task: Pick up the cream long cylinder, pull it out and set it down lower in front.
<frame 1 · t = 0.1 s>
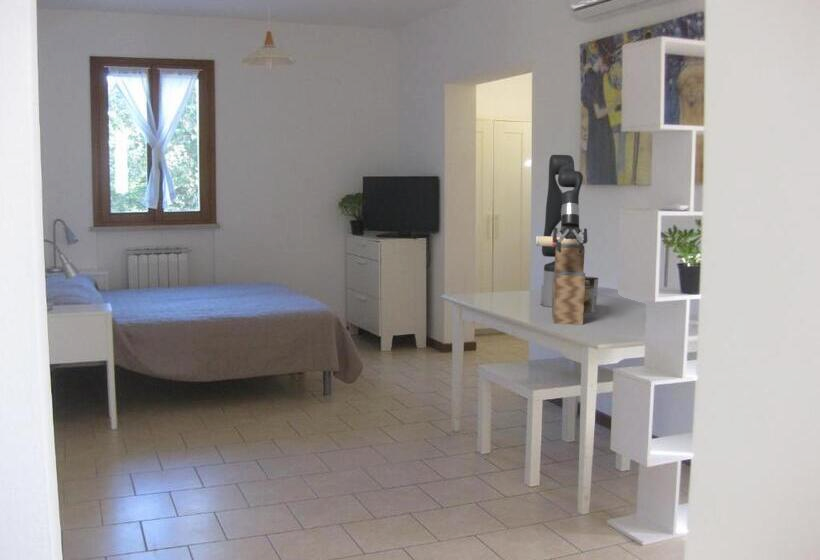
hand: (570, 252, 372), 32 cm above the table, tool tilted 20°, fingers open, 8 cm apart
coffee box: (585, 311, 420), on the table
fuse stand: (566, 318, 396), on the table
cream long cylinder: (558, 246, 393), point 32 cm above the table, touching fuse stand
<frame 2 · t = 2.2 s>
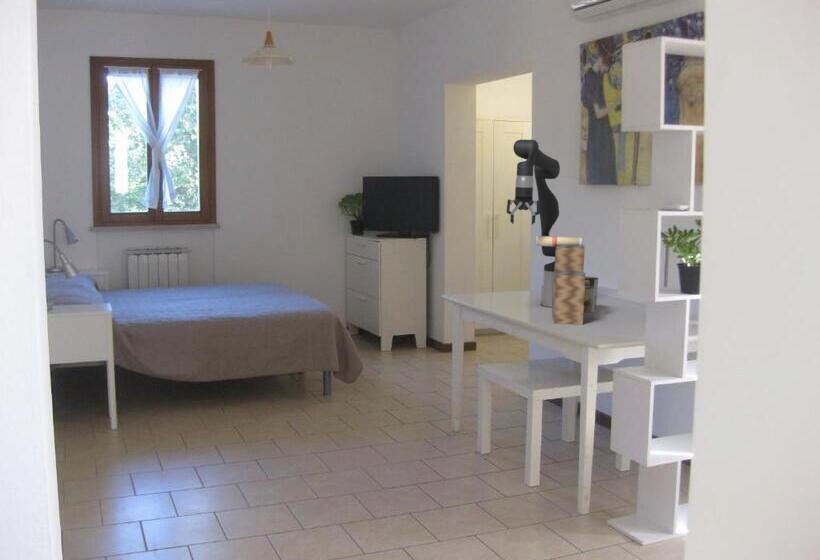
hand: (522, 224, 383), 42 cm above the table, tool pointing down, fingers open, 8 cm apart
nothing on the table moved.
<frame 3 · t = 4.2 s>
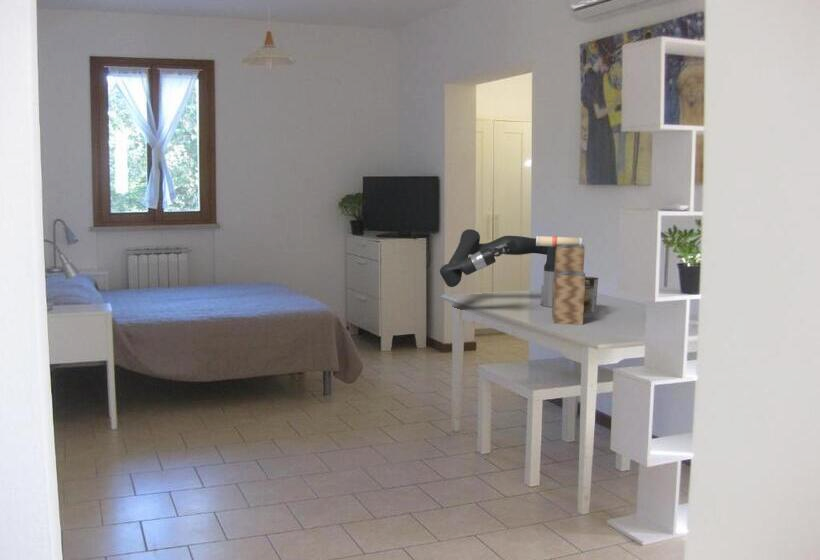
hand: (515, 242, 393), 33 cm above the table, tool pointing upward, fingers open, 8 cm apart
nothing on the table moved.
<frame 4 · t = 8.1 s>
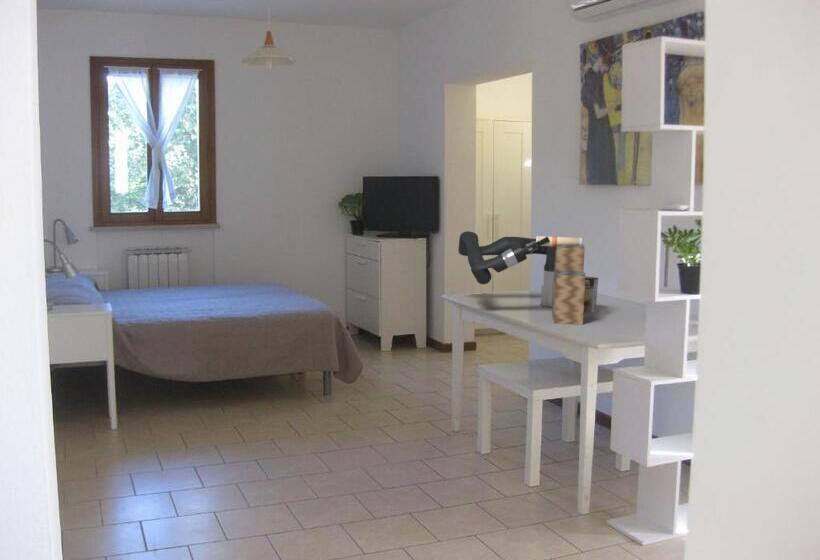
hand: (548, 238, 393), 36 cm above the table, tool pointing upward, fingers closed on cream long cylinder, 4 cm apart
cream long cylinder: (558, 246, 393), point 32 cm above the table, touching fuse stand, gripper
everything else where it was.
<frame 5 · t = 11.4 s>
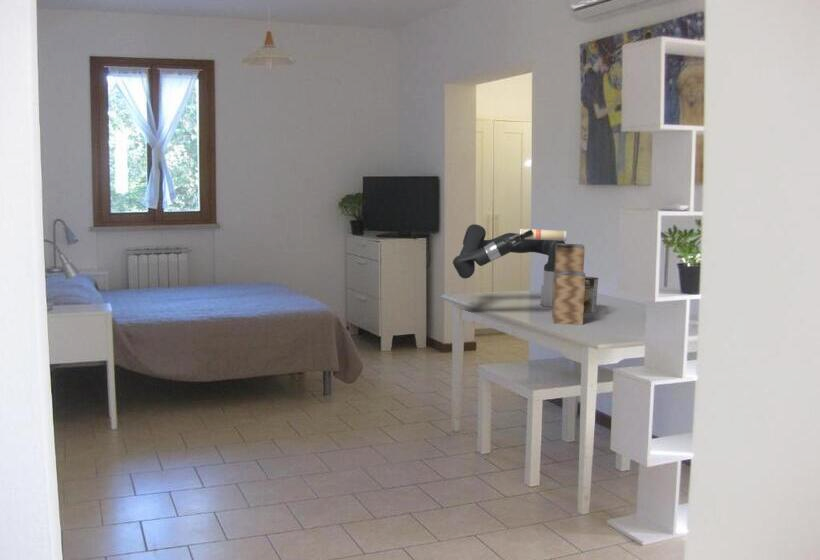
hand: (532, 231, 383), 39 cm above the table, tool pointing upward, fingers closed on cream long cylinder, 4 cm apart
cream long cylinder: (542, 239, 383), point 36 cm above the table, touching gripper
everything else where it was.
when the fingers open (26 cm above the table, at t = 14.7 s): cream long cylinder drops 1 cm, resting on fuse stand.
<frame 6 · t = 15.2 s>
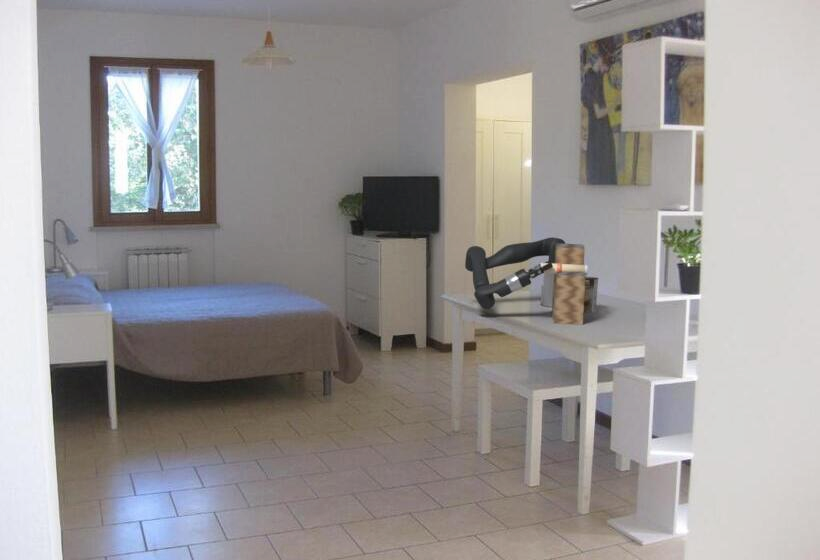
hand: (551, 263, 384), 25 cm above the table, tool pointing upward, fingers open, 8 cm apart
cream long cylinder: (563, 274, 384), point 21 cm above the table, touching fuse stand
everything else where it was.
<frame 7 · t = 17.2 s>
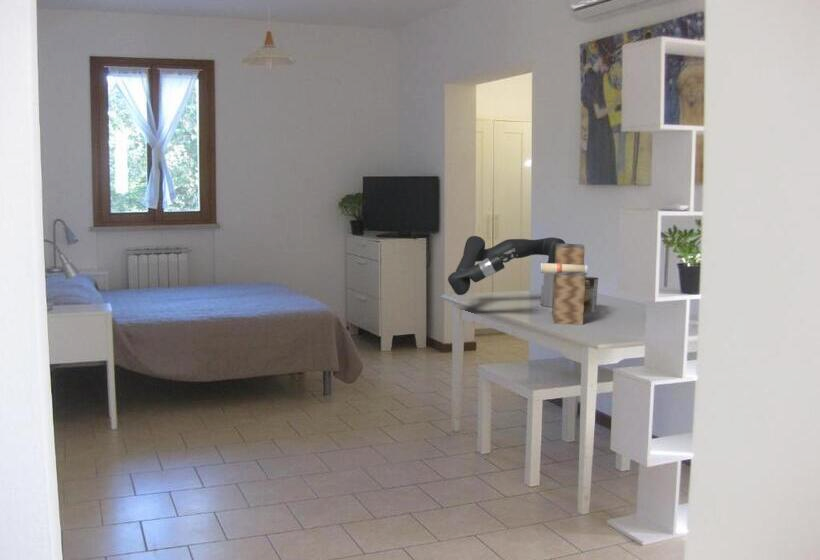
hand: (524, 247, 385), 32 cm above the table, tool pointing upward, fingers open, 8 cm apart
nothing on the table moved.
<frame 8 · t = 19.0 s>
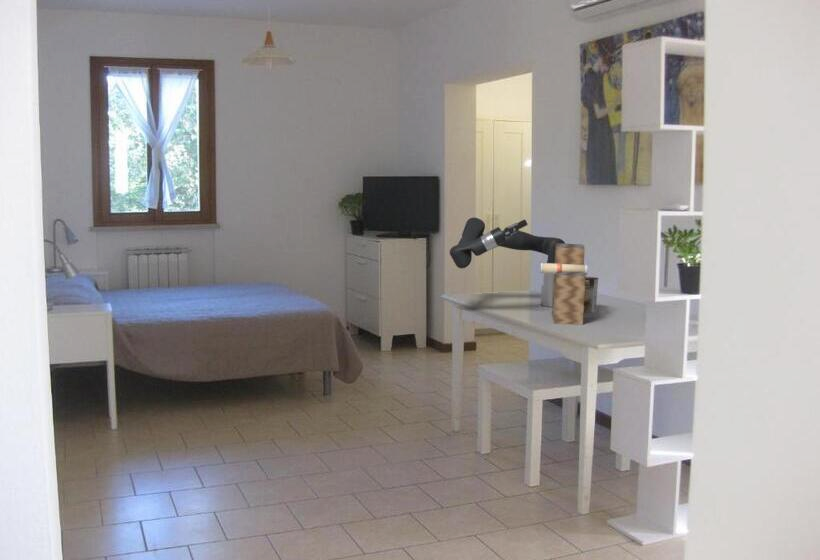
hand: (526, 221, 385), 43 cm above the table, tool pointing upward, fingers open, 8 cm apart
nothing on the table moved.
at the end: cream long cylinder inside the target area (0.1 cm from its centre), point 21.0 cm above the table; the gripper is holding nothing; cream long cylinder touching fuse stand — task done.
